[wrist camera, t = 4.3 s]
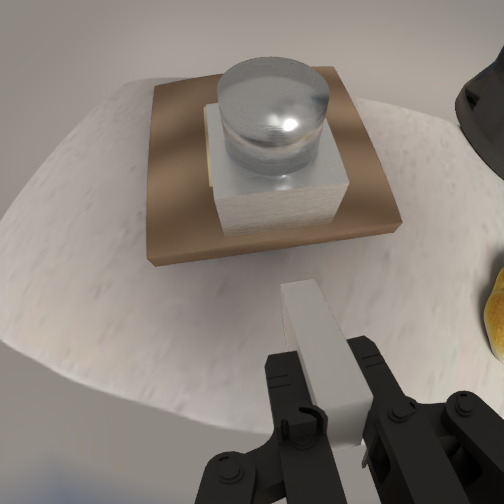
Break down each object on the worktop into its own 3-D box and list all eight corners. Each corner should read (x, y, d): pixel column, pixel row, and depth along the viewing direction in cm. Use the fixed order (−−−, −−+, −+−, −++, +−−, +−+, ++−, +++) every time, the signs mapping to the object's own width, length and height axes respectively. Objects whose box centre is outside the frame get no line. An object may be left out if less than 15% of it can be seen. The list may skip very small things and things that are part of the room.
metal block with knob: (331, 222, 18) (369, 135, 11) (224, 237, 18) (200, 151, 11) (307, 140, 21) (323, 46, 13) (215, 151, 20) (196, 56, 13)
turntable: (393, 232, 20) (402, 222, 18) (155, 266, 19) (146, 258, 18) (331, 79, 25) (333, 66, 24) (159, 98, 25) (154, 85, 23)
